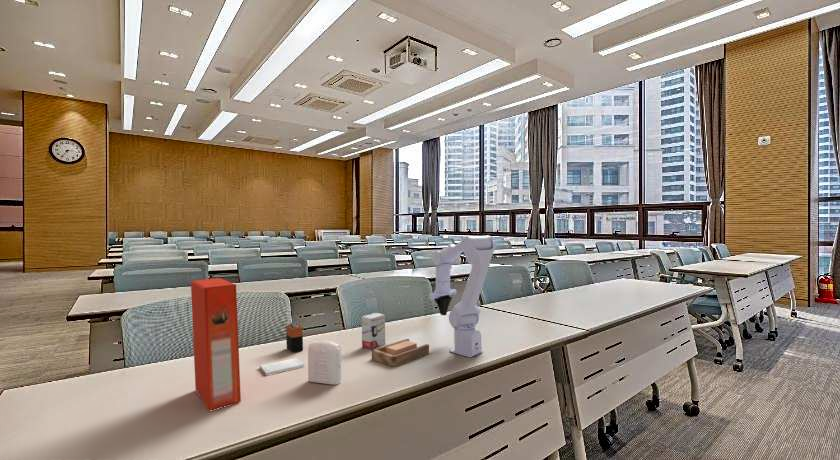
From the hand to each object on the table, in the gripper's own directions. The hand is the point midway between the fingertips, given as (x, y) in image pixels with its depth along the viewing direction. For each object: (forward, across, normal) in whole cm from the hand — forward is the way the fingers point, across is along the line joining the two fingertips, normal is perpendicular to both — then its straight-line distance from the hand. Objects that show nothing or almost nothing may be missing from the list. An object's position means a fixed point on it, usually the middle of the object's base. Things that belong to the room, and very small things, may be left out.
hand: (443, 314), depth 158 cm
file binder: (+10, +80, -15) cm, 82 cm away
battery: (+11, +45, -36) cm, 58 cm away
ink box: (+11, +22, -17) cm, 30 cm away
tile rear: (+10, +21, 0) cm, 23 cm away
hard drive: (+11, +57, -22) cm, 62 cm away
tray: (+10, +23, 0) cm, 25 cm away
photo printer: (+10, +54, -1) cm, 55 cm away
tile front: (+10, +26, 0) cm, 28 cm away
